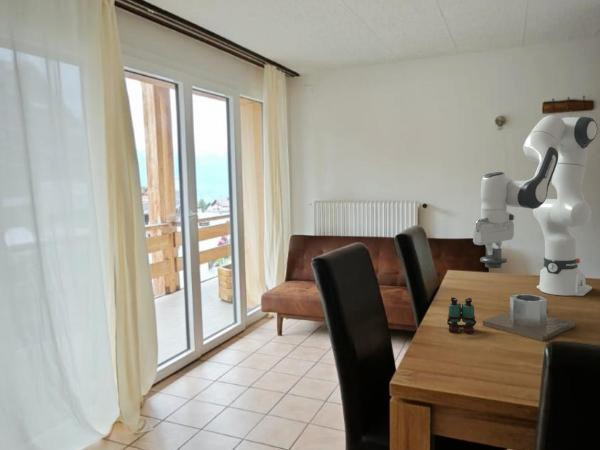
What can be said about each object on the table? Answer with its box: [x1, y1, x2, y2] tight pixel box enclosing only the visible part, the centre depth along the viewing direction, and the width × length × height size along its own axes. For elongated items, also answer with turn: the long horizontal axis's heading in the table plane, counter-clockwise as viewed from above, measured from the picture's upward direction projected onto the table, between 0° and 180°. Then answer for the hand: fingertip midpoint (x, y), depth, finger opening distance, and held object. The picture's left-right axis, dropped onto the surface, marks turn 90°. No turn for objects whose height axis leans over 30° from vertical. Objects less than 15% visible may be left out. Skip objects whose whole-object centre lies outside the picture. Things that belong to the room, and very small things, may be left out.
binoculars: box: [446, 297, 477, 335], centre depth 146 cm, size 9×11×10 cm
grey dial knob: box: [479, 246, 508, 269], centre depth 164 cm, size 9×9×7 cm
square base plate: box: [482, 293, 576, 342], centre depth 148 cm, size 20×20×10 cm
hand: (493, 254), depth 164 cm, fingers closed on grey dial knob, 2 cm apart
